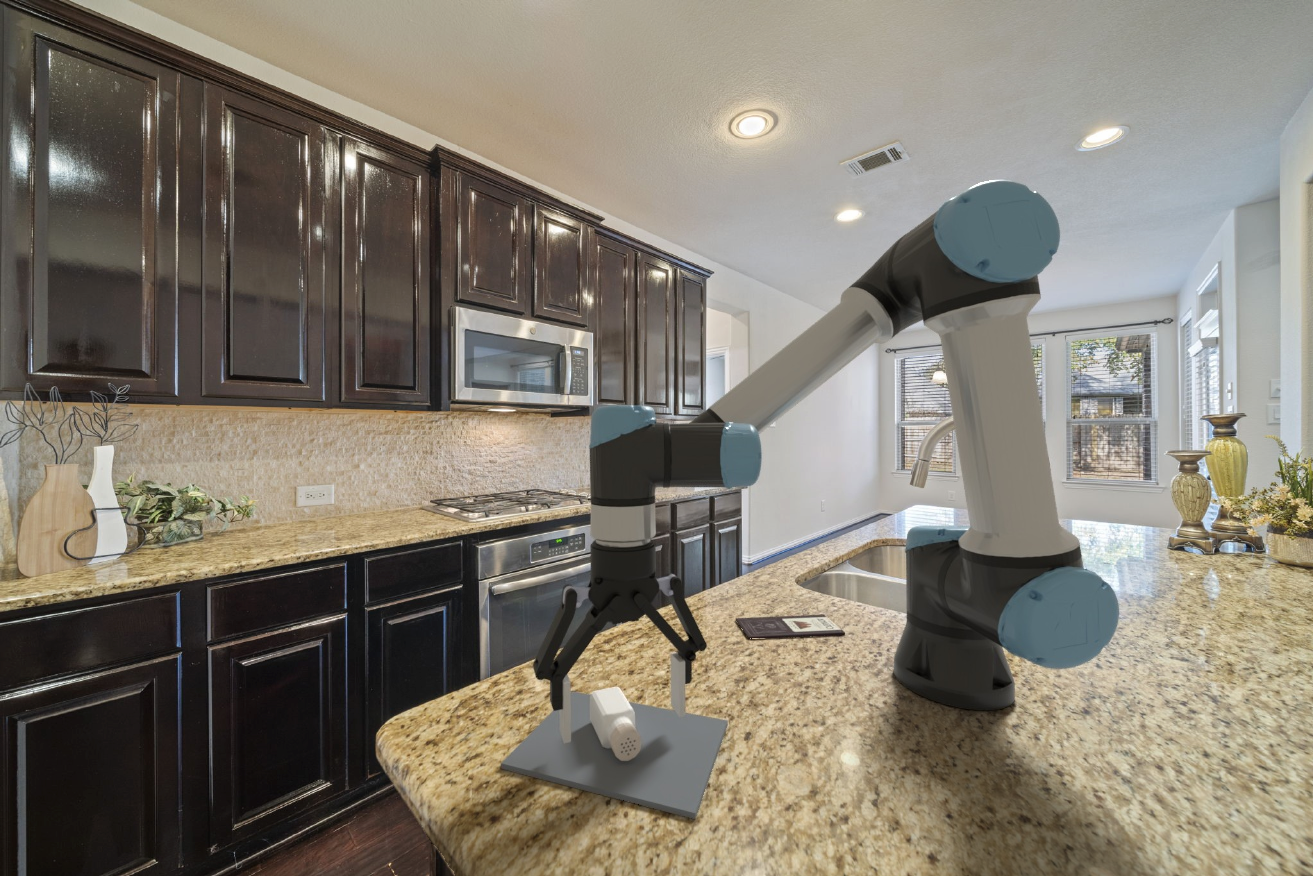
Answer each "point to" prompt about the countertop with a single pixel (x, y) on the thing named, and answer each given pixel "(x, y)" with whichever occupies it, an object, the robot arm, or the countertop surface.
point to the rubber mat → (654, 778)
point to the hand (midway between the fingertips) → (623, 723)
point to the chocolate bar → (789, 626)
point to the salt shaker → (615, 722)
